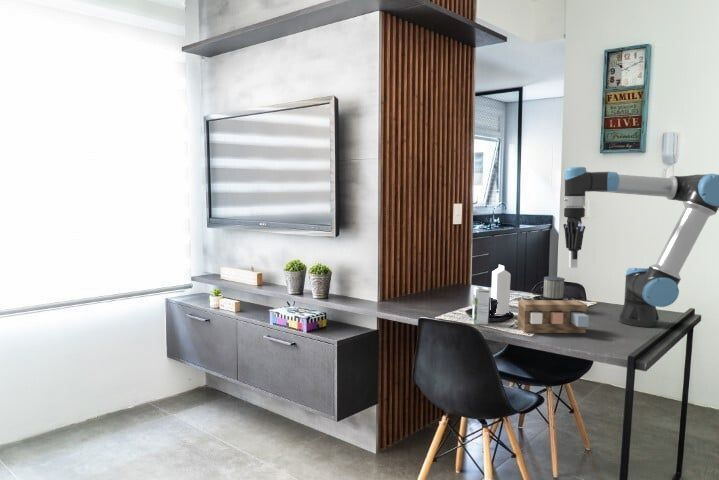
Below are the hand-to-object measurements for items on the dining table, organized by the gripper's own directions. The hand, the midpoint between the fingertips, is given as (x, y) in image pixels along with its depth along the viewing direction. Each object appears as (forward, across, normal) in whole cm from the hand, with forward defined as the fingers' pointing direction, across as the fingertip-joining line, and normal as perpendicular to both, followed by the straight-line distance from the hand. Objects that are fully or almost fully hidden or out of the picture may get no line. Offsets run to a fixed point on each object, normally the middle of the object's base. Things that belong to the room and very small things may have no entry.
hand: (573, 267), depth 217 cm
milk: (+24, -22, -21) cm, 39 cm away
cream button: (+20, +4, -18) cm, 27 cm away
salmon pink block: (+20, +4, -10) cm, 23 cm away
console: (+24, +2, -10) cm, 26 cm away
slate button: (+20, +9, -2) cm, 22 cm away
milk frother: (+25, -34, +3) cm, 42 cm away
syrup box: (+24, -10, -34) cm, 43 cm away
